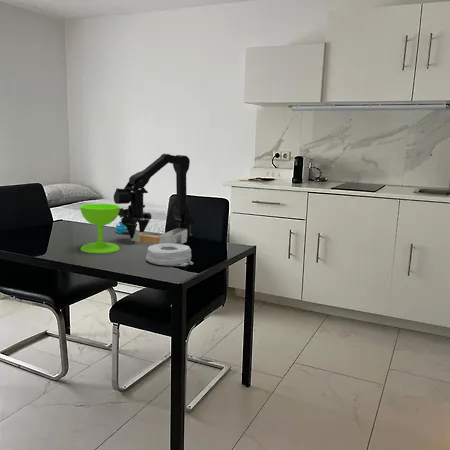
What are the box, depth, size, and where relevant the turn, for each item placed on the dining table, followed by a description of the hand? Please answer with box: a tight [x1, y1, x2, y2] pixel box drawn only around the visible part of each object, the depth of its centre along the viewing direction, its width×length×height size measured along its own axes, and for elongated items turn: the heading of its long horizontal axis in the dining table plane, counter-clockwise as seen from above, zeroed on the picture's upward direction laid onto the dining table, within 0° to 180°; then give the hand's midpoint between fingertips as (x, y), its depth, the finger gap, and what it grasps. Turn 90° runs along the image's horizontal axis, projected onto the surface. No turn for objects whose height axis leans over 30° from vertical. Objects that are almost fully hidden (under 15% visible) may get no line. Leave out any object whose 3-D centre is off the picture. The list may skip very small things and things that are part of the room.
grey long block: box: [158, 227, 188, 245], centre depth 203 cm, size 20×5×6 cm, turn 163°
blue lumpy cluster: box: [114, 220, 128, 235], centre depth 226 cm, size 11×6×10 cm
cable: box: [145, 243, 194, 267], centre depth 176 cm, size 18×18×6 cm
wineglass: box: [79, 203, 121, 254], centre depth 189 cm, size 16×16×18 cm
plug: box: [131, 231, 159, 245], centre depth 207 cm, size 4×13×4 cm, turn 73°
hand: (136, 236), depth 209 cm, fingers open, 9 cm apart
